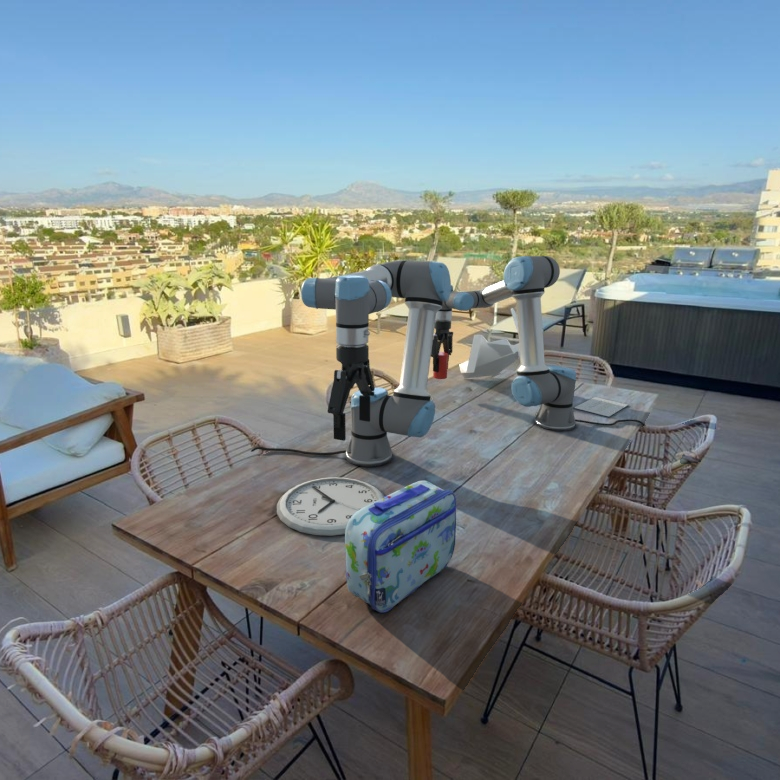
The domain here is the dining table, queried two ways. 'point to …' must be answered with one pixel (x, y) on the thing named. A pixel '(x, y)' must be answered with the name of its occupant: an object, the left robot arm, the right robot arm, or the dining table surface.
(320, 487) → the wall clock
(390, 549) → the lunch box
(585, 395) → the dining table surface
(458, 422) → the dining table surface
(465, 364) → the white plastic object
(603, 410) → the invitation card
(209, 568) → the dining table surface
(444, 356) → the can
